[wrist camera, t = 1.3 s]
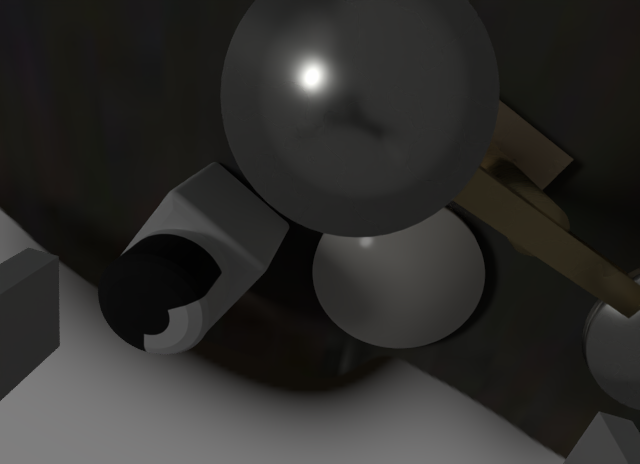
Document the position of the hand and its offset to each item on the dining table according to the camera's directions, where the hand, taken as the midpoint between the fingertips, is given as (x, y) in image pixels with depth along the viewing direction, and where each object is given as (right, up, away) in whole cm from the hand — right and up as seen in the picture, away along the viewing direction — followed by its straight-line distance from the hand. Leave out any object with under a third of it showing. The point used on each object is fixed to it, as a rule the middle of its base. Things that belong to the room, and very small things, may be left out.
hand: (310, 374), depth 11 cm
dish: (+6, +1, +22) cm, 23 cm away
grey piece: (-7, +4, +23) cm, 24 cm away
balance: (+10, +9, +18) cm, 22 cm away
